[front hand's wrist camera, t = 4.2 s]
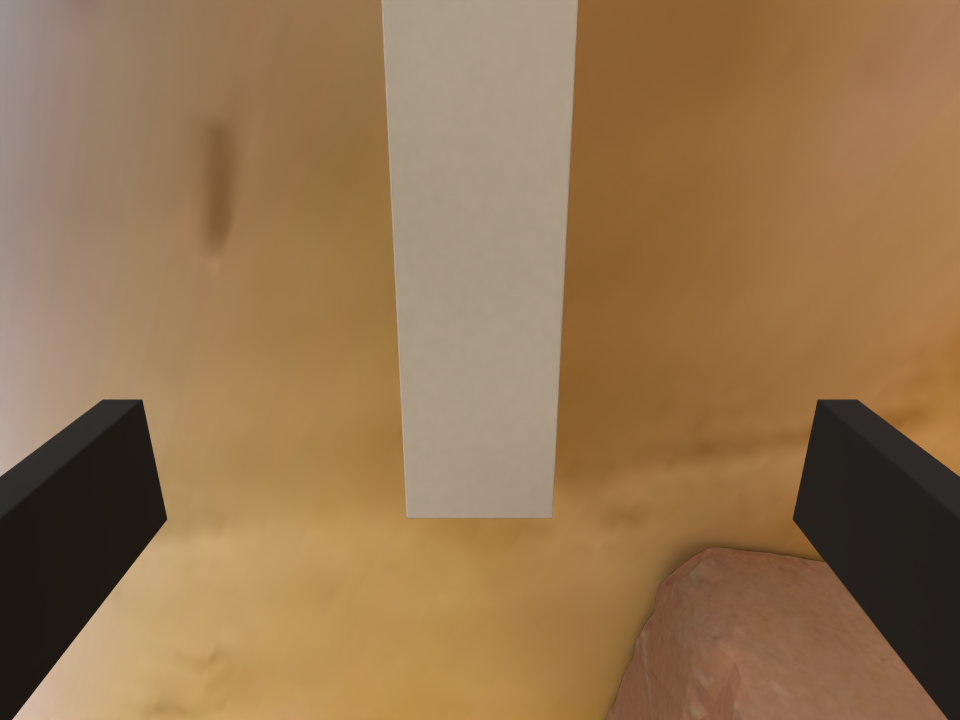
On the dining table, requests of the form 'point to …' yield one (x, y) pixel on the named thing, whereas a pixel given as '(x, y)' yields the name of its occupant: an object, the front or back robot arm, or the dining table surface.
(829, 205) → the dining table surface
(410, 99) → the bar
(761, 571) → the stone
